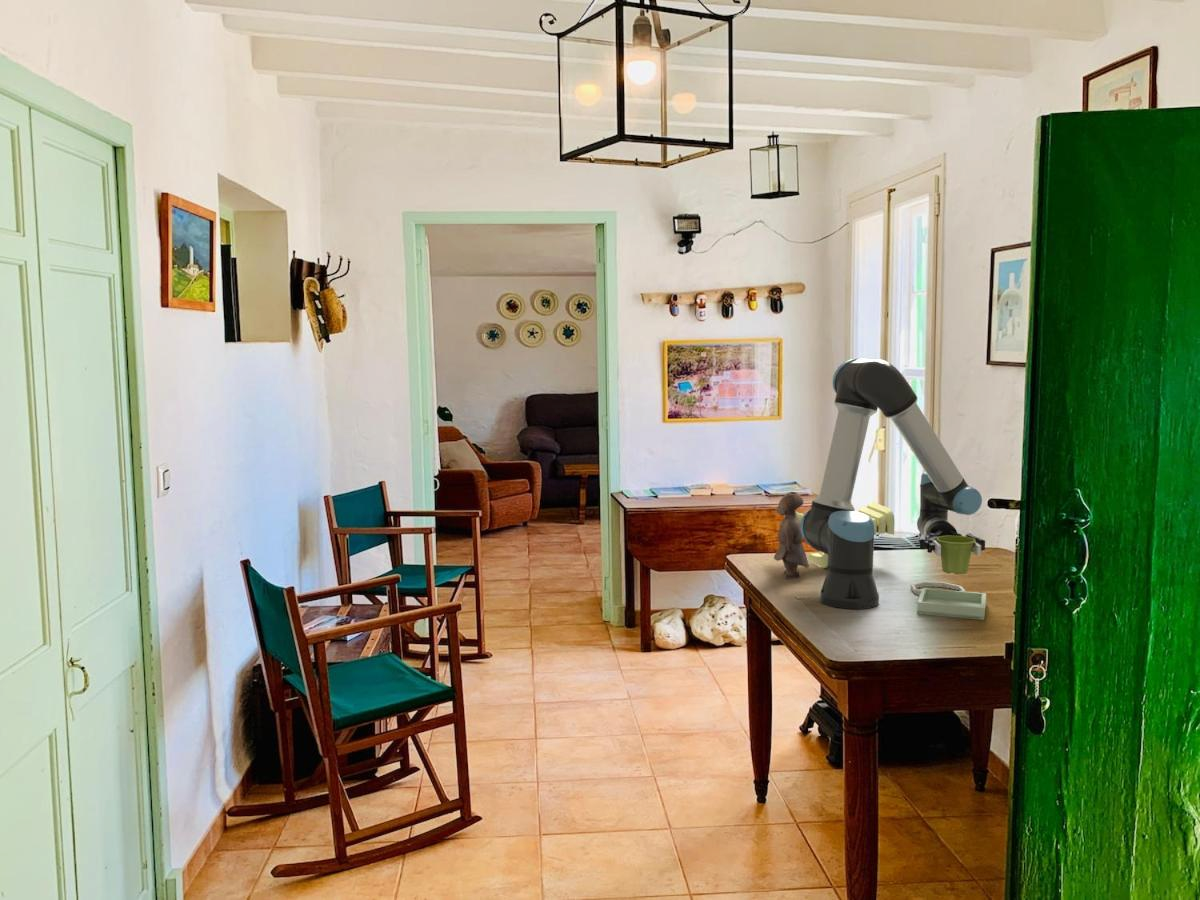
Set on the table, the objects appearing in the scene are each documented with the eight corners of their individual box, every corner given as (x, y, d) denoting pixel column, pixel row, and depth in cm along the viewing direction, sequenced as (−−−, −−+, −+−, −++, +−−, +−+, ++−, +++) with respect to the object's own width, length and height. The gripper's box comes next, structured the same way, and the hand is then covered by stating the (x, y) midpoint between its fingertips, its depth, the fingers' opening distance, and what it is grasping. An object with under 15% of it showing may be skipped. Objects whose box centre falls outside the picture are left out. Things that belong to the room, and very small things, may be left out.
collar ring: (945, 600, 275) (945, 596, 275) (901, 590, 285) (901, 586, 285) (973, 592, 283) (973, 588, 283) (930, 583, 294) (930, 579, 294)
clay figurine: (773, 570, 310) (775, 488, 307) (807, 572, 308) (809, 489, 305) (773, 581, 297) (775, 495, 294) (809, 582, 295) (810, 495, 293)
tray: (984, 620, 256) (984, 608, 256) (917, 613, 262) (917, 602, 262) (985, 604, 271) (986, 593, 271) (922, 598, 277) (922, 587, 277)
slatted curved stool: (798, 571, 309) (799, 513, 307) (780, 560, 324) (781, 504, 322) (893, 568, 313) (894, 510, 311) (871, 557, 329) (872, 501, 327)
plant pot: (949, 577, 260) (951, 543, 259) (928, 569, 269) (929, 536, 268) (981, 575, 262) (983, 541, 261) (959, 566, 271) (960, 534, 270)
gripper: (981, 547, 282) (1003, 566, 260) (899, 546, 284) (914, 564, 262) (982, 520, 281) (1004, 536, 259) (900, 519, 283) (915, 535, 261)
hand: (959, 550), depth 260 cm, fingers closed on plant pot, 9 cm apart
